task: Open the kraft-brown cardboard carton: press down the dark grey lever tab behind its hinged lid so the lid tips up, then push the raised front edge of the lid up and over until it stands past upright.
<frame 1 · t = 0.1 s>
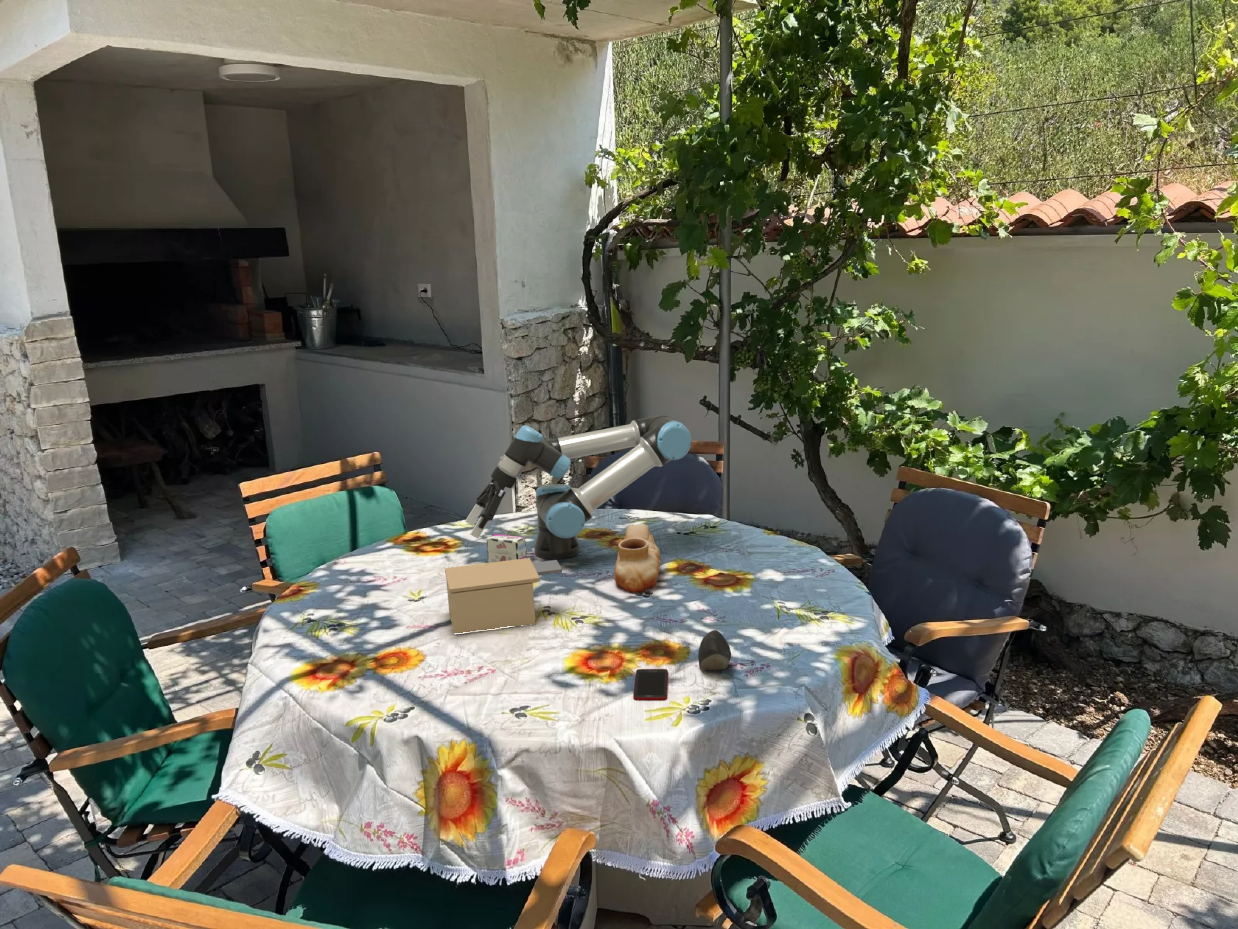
hand: (471, 529, 291), 15 cm above the table, tool tilted 35°, fingers open, 13 cm apart
ceramic vessel: (638, 579, 287), on the table
lid: (503, 573, 260), point 13 cm above the table, hinge at 0.0°
candy bar box: (509, 589, 283), on the table
carton: (491, 618, 262), on the table
stone: (715, 669, 226), on the table
cell phone: (651, 687, 220), on the table
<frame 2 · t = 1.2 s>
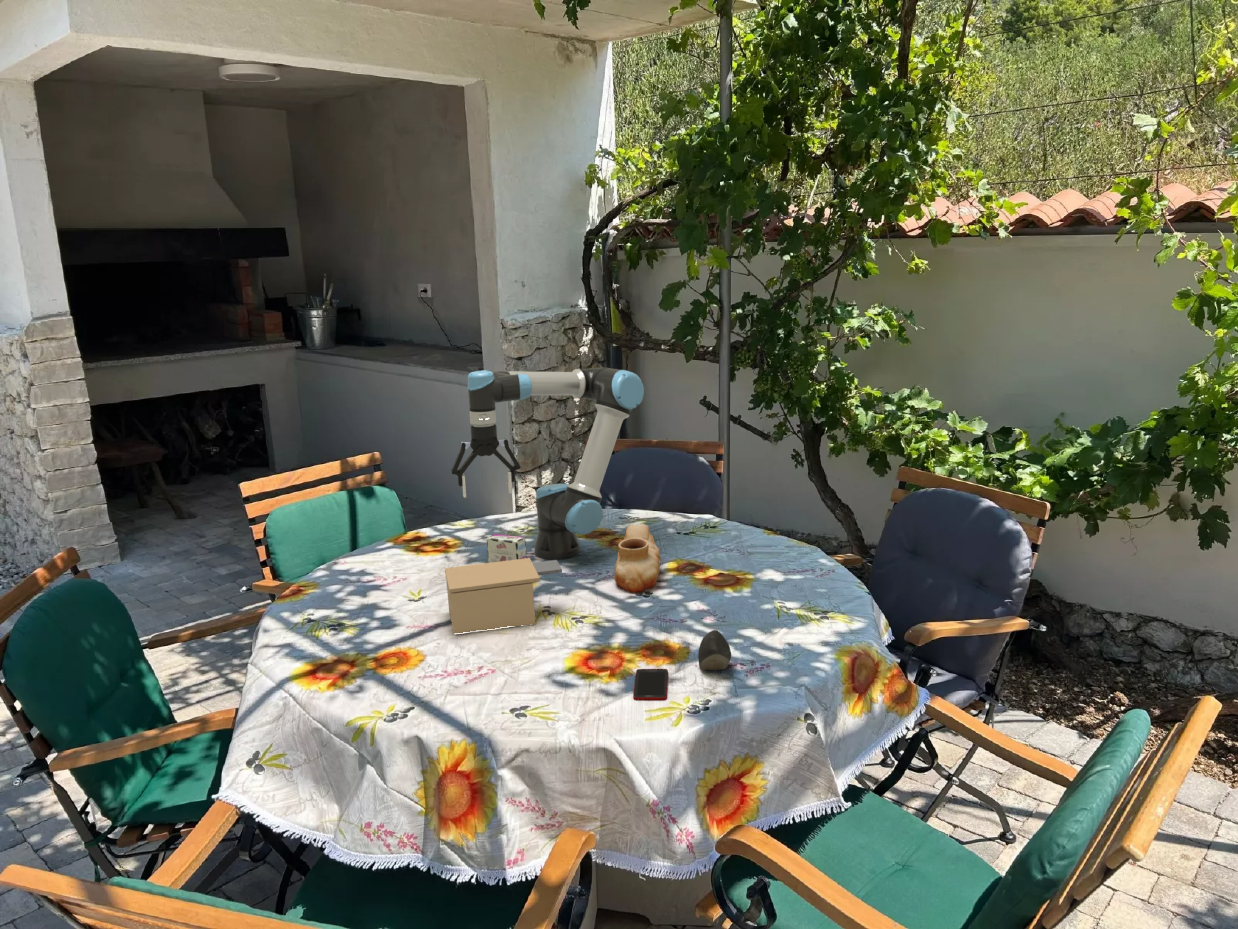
hand: (487, 494, 279), 29 cm above the table, tool pointing down, fingers open, 13 cm apart
nothing on the table moved.
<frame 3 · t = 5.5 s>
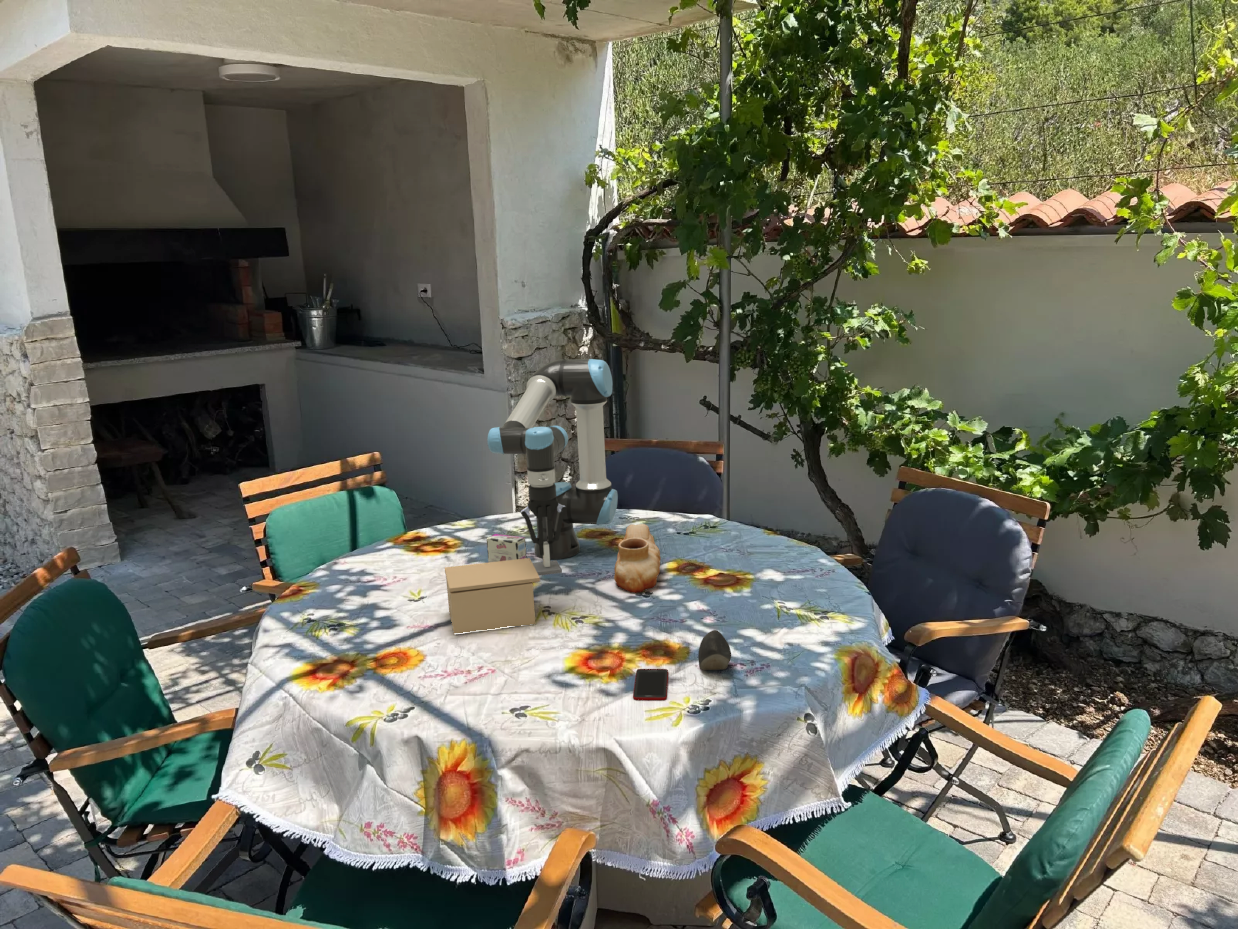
hand: (546, 565, 262), 14 cm above the table, tool pointing down, fingers closed
lid: (503, 572, 260), point 13 cm above the table, hinge at 0.6°, touching gripper
everything else where it was.
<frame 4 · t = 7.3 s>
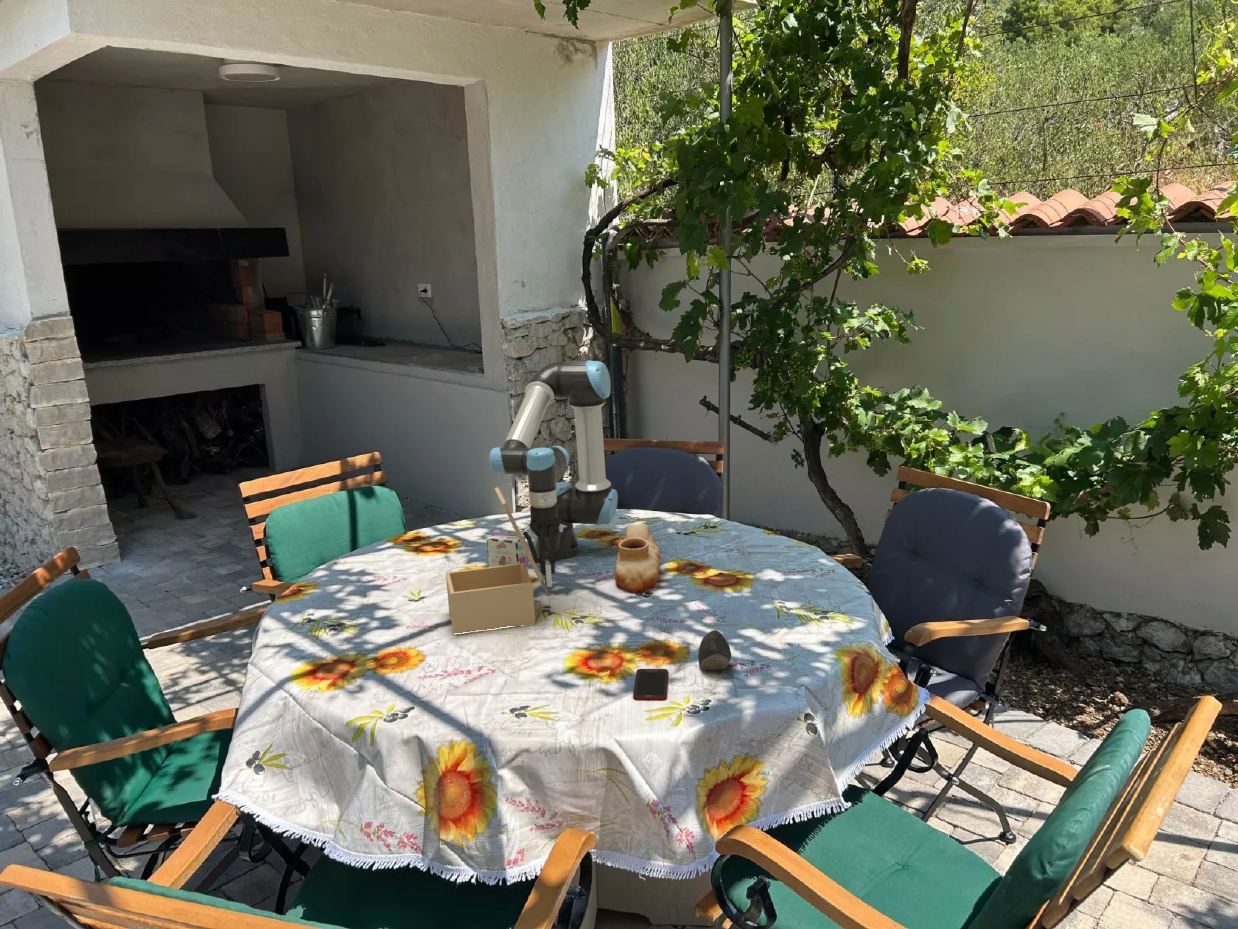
hand: (548, 585, 263), 8 cm above the table, tool pointing down, fingers closed
lid: (523, 544, 259), point 21 cm above the table, hinge at 69.3°, touching gripper
everything else where it was.
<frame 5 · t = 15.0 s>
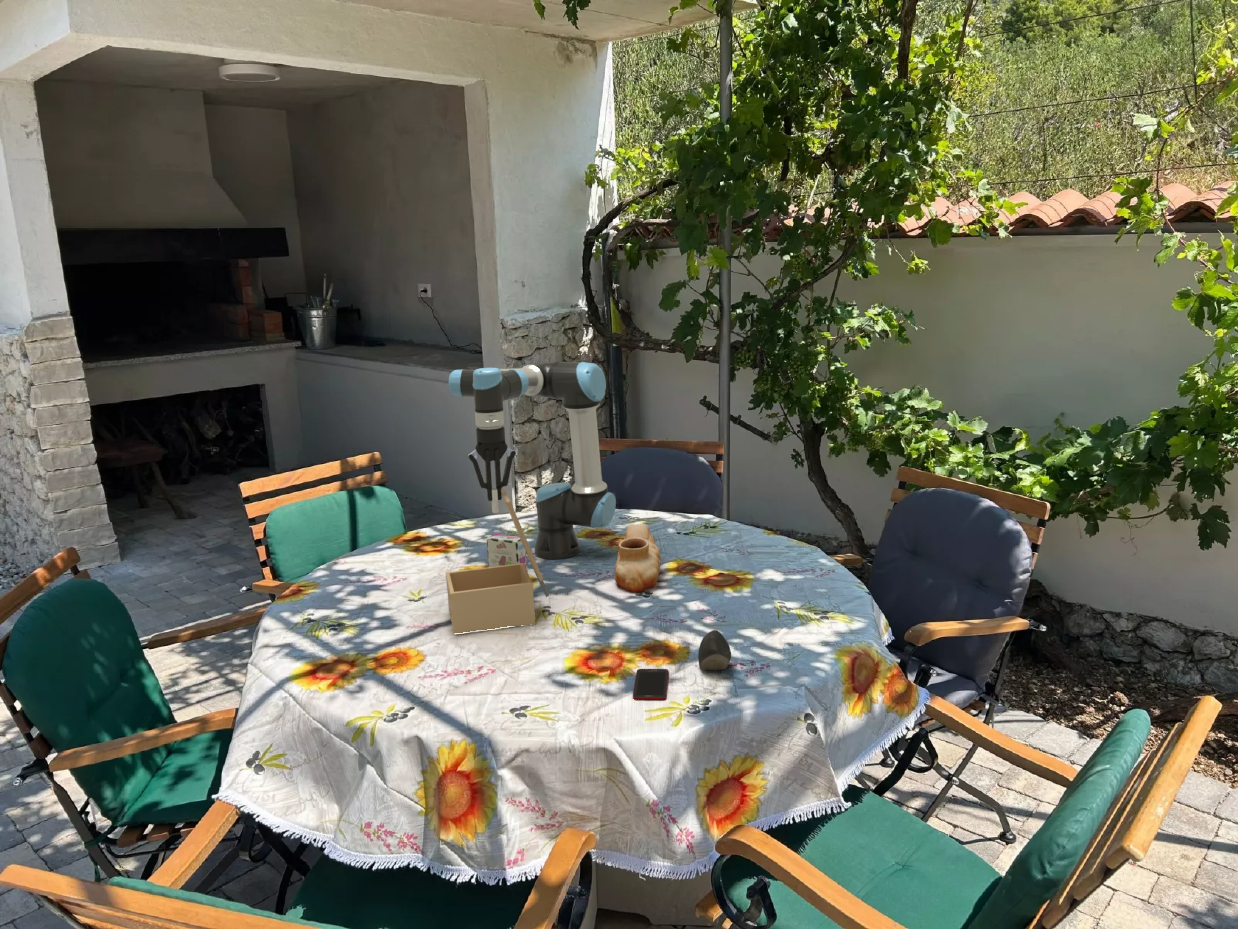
hand: (495, 511, 255), 31 cm above the table, tool pointing down, fingers closed
lid: (525, 543, 259), point 21 cm above the table, hinge at 72.2°, touching gripper
everything else where it was.
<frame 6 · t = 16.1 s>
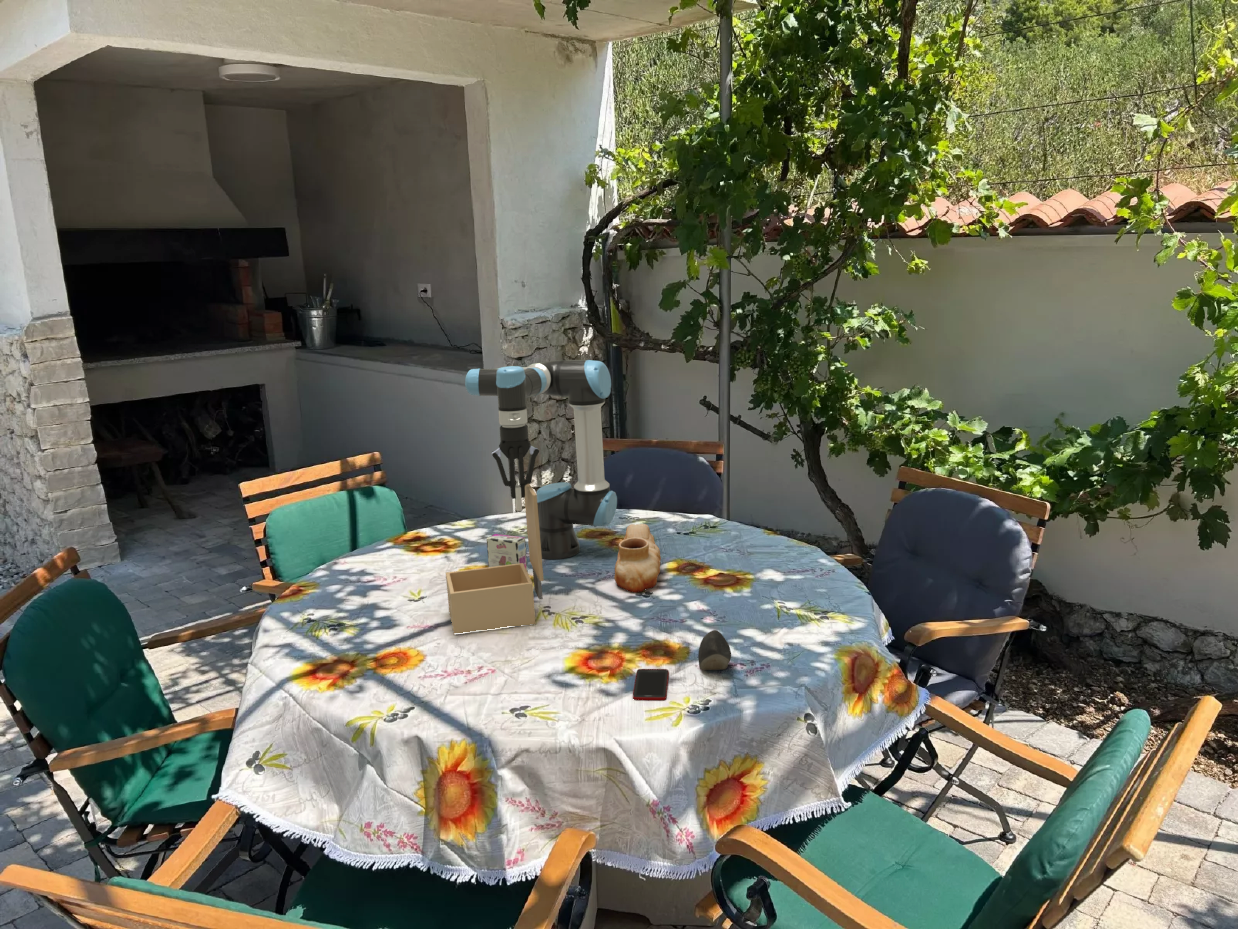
hand: (518, 509, 256), 31 cm above the table, tool pointing down, fingers closed
lid: (534, 541, 260), point 21 cm above the table, hinge at 89.1°, touching gripper
everything else where it was.
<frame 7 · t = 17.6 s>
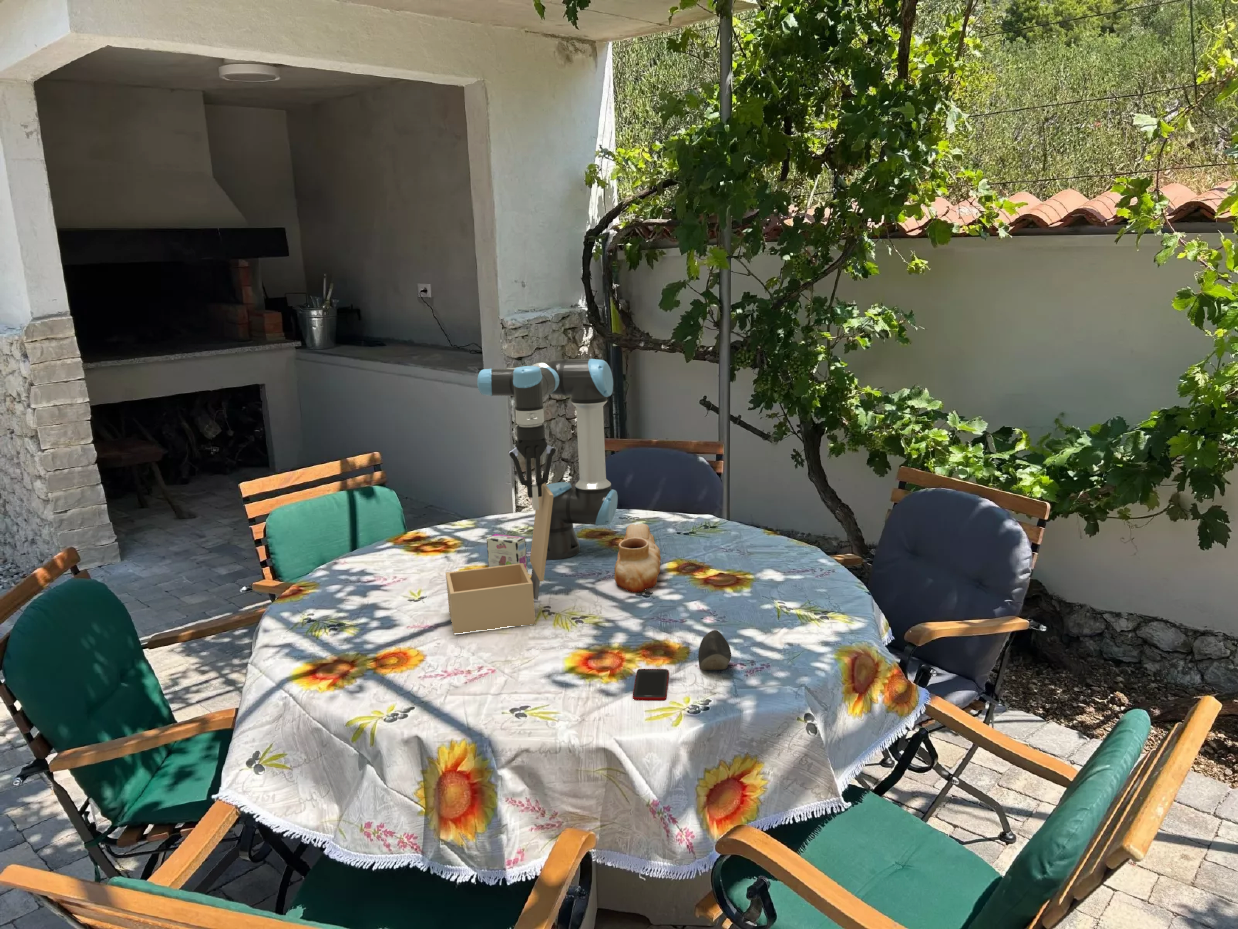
hand: (535, 508, 258), 30 cm above the table, tool pointing down, fingers closed
lid: (539, 541, 260), point 21 cm above the table, hinge at 99.8°, touching gripper
everything else where it was.
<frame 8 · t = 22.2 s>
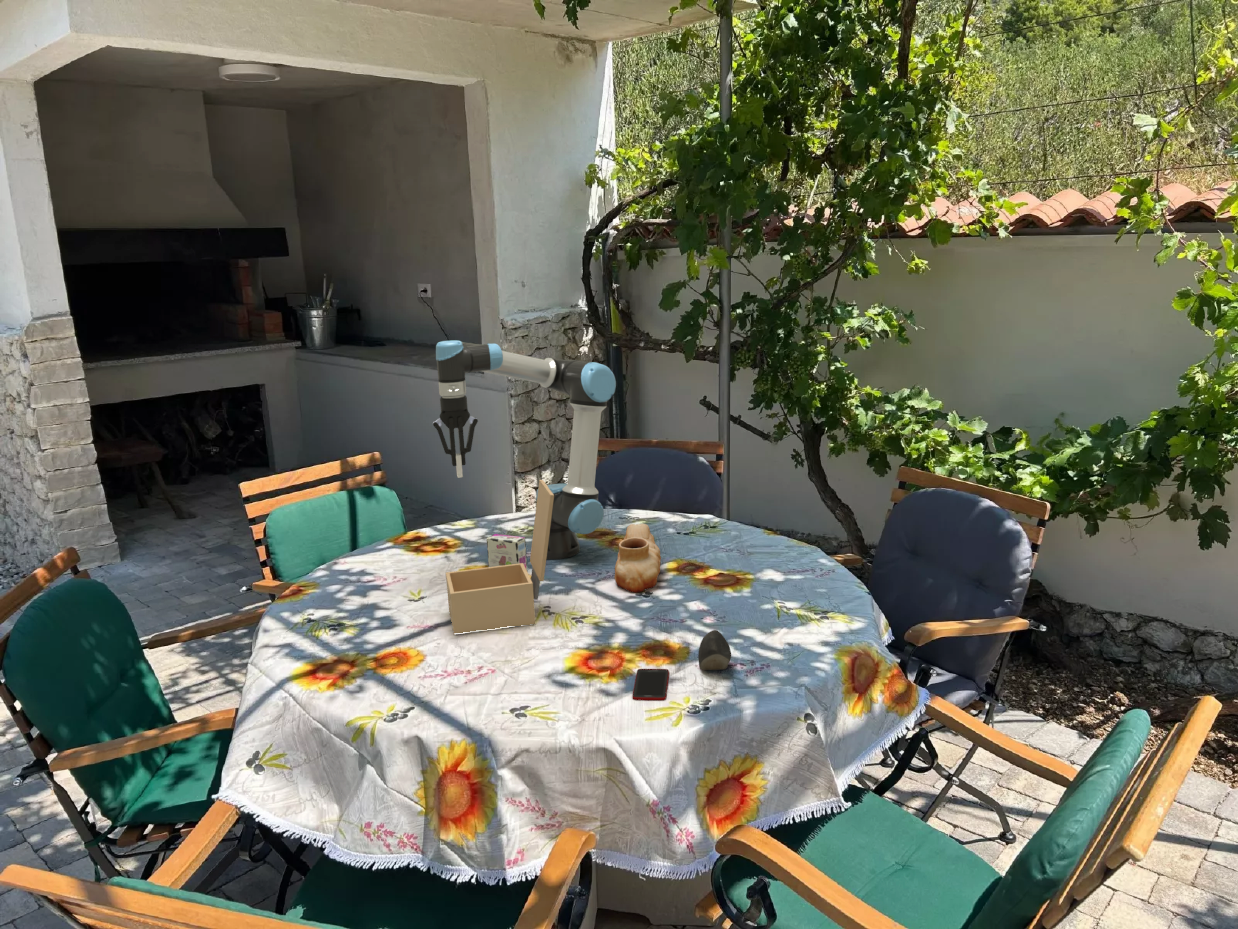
hand: (459, 476, 271), 36 cm above the table, tool pointing down, fingers closed
lid: (540, 541, 260), point 21 cm above the table, hinge at 100.1°
everything else where it was.
at the end: lid at +100° (first picture: +0°); candy bar box moved 0.2 cm from its start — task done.
